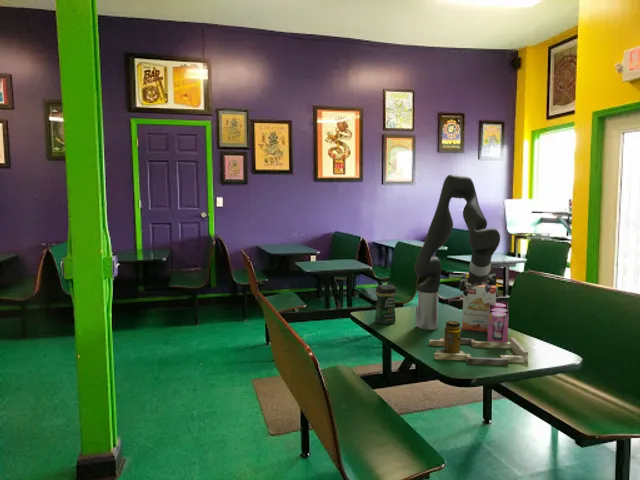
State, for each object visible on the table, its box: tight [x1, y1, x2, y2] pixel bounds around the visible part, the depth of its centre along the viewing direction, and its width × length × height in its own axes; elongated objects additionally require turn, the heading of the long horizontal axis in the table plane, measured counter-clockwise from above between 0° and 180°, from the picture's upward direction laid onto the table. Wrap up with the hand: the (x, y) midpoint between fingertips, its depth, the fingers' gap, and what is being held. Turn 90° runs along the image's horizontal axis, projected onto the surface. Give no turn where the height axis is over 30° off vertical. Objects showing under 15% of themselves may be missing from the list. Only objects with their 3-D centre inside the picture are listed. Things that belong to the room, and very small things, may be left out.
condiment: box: [436, 320, 466, 354], centre depth 176 cm, size 7×8×12 cm
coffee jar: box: [374, 284, 397, 325], centre depth 217 cm, size 10×8×19 cm
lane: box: [428, 336, 529, 366], centre depth 175 cm, size 34×24×4 cm
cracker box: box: [461, 283, 497, 333], centre depth 204 cm, size 14×6×21 cm, turn 68°
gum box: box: [486, 300, 510, 342], centre depth 192 cm, size 24×8×14 cm, turn 158°
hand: (475, 292), depth 183 cm, fingers open, 8 cm apart
